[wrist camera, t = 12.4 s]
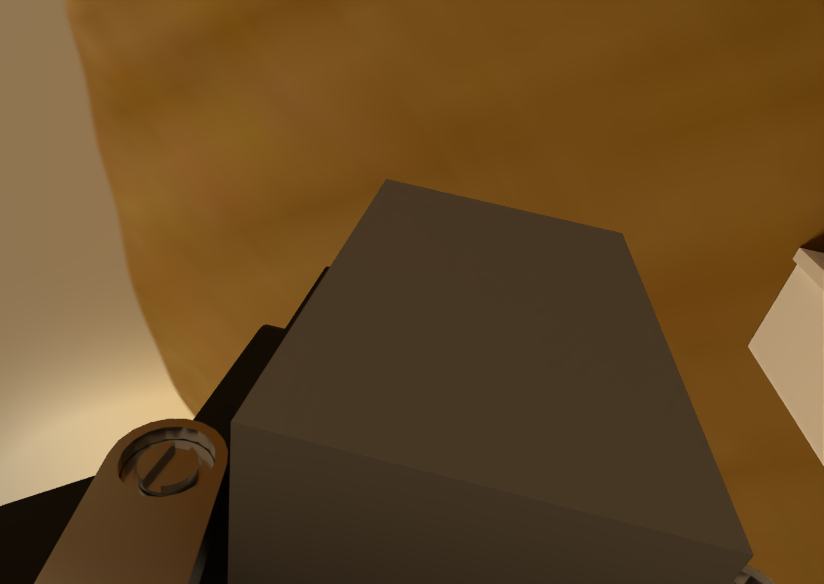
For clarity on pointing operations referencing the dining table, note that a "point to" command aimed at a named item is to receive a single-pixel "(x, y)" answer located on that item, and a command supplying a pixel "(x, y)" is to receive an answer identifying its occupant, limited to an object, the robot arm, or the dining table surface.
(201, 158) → the dining table surface
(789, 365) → the wall
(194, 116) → the dining table surface
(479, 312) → the block
